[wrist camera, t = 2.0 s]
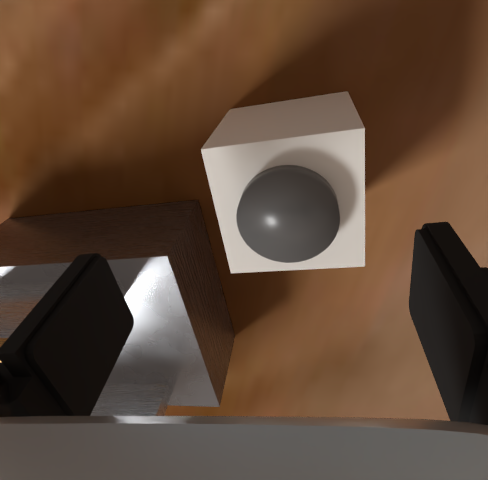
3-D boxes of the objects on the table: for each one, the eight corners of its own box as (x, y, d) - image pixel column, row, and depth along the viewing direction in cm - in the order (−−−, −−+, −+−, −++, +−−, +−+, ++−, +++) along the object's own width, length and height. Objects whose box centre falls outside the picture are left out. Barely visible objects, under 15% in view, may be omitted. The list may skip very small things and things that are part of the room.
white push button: (347, 90, 18) (367, 135, 12) (350, 199, 21) (367, 277, 15) (230, 108, 19) (195, 156, 13) (249, 209, 22) (227, 284, 16)
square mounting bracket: (198, 199, 22) (127, 327, 14) (234, 336, 29) (202, 484, 20) (-16, 220, 26) (-182, 333, 17) (58, 338, 32) (-36, 465, 23)
